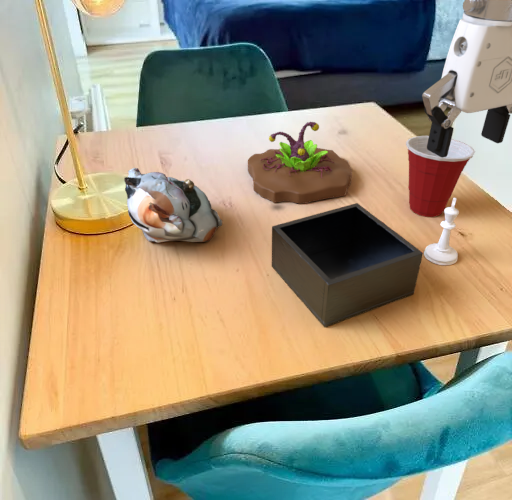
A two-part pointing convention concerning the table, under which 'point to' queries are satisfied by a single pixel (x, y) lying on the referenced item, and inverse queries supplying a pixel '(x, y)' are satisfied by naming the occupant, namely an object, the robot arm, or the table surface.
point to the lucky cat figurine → (169, 208)
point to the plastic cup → (434, 174)
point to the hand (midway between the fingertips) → (464, 146)
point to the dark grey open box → (344, 262)
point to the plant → (299, 171)
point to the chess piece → (444, 240)
